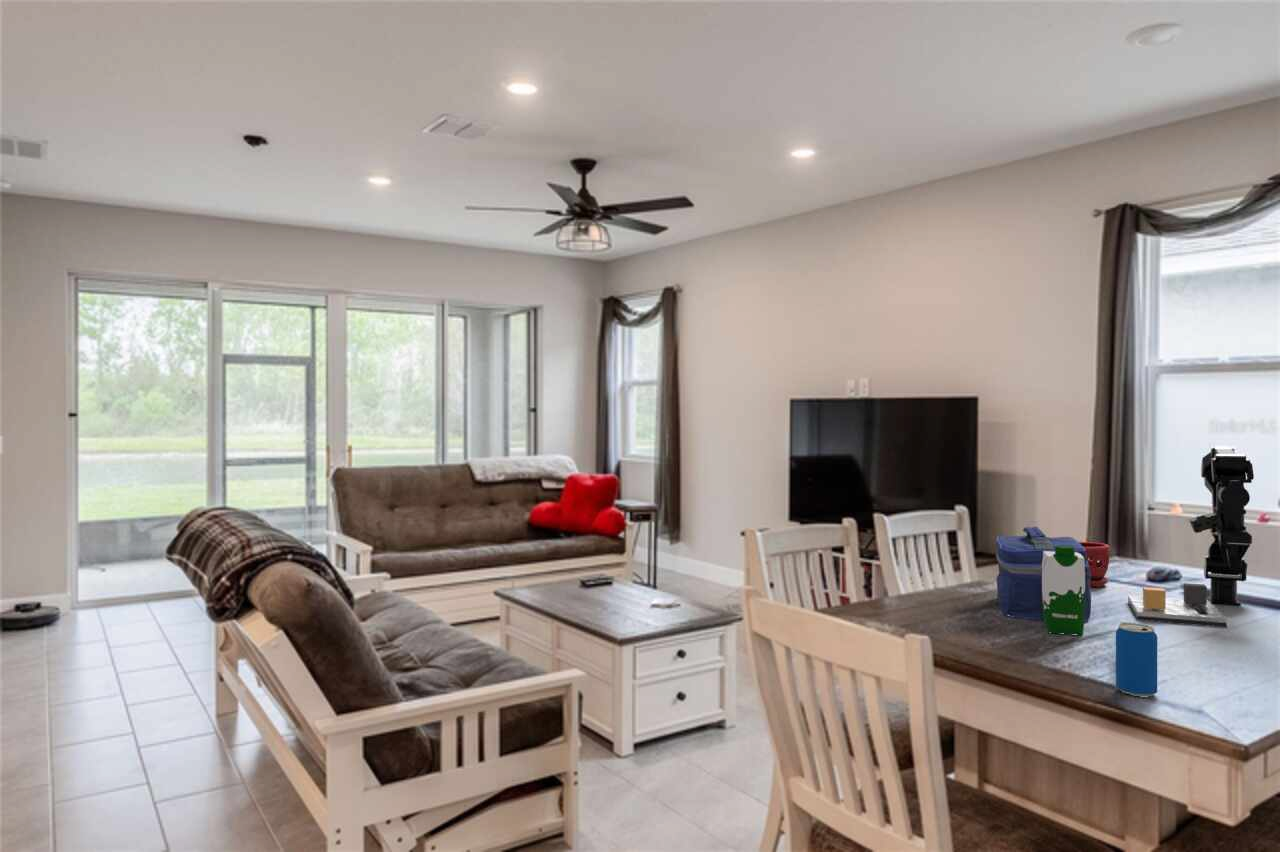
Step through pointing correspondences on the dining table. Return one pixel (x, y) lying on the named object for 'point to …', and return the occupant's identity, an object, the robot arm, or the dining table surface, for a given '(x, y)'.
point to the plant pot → (1097, 568)
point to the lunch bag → (1030, 572)
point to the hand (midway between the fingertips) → (1230, 566)
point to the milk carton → (1063, 590)
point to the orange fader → (1154, 598)
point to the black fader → (1195, 594)
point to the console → (1178, 612)
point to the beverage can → (1136, 659)
